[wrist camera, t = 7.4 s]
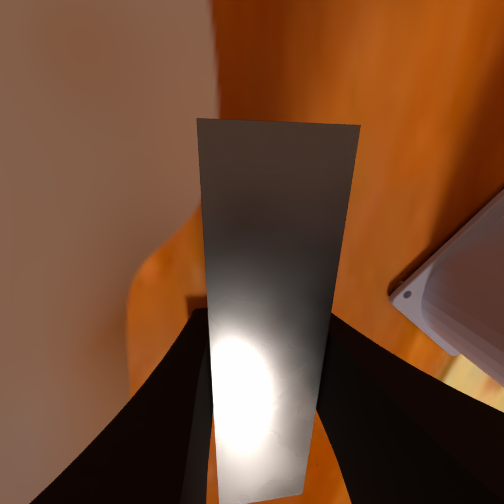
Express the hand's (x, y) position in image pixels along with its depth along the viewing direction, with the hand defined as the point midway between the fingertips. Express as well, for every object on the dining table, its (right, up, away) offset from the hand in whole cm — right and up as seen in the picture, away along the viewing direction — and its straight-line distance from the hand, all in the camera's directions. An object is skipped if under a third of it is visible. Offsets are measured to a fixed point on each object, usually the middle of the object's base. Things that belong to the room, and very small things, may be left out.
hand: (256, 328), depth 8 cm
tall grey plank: (0, +1, +3) cm, 3 cm away
